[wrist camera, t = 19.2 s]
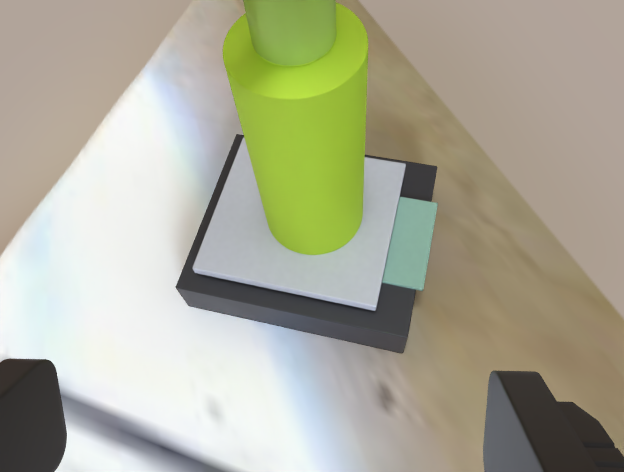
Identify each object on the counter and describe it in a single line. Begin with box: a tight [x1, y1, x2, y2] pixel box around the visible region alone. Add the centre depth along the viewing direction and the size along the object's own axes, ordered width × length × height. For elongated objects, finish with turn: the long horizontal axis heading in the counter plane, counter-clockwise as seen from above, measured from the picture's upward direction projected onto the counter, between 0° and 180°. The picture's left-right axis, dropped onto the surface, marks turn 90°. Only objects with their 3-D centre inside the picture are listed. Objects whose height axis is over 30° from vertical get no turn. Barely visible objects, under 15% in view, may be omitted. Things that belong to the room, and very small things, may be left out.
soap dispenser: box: [223, 0, 368, 255], centre depth 24 cm, size 6×7×20 cm
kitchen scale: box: [176, 134, 438, 353], centre depth 35 cm, size 14×12×4 cm
